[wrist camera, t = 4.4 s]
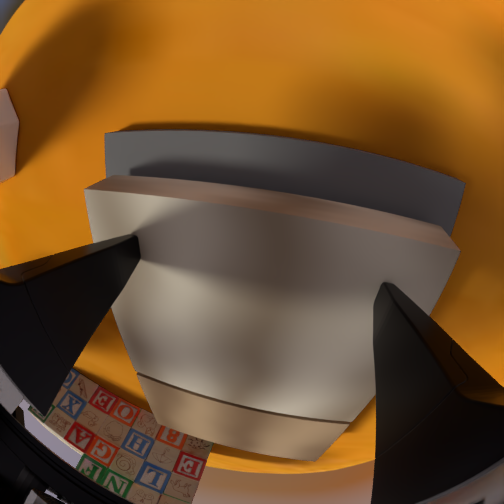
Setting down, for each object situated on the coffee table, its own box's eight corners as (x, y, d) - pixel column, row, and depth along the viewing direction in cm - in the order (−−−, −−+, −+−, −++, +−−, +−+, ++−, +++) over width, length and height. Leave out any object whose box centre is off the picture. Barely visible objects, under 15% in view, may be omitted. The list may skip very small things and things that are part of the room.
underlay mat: (163, 403, 23) (159, 410, 22) (117, 131, 11) (104, 133, 11) (324, 440, 20) (323, 449, 20) (455, 178, 9) (465, 183, 8)
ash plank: (148, 349, 17) (135, 370, 15) (113, 174, 11) (83, 189, 9) (352, 395, 15) (351, 421, 13) (440, 226, 9) (460, 251, 7)
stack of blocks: (75, 383, 29) (33, 441, 19) (63, 360, 26) (14, 424, 16) (209, 451, 28) (180, 526, 17) (216, 438, 25) (182, 528, 14)
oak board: (166, 406, 21) (157, 423, 19) (149, 354, 17) (136, 374, 16) (317, 442, 19) (315, 461, 17) (349, 399, 15) (349, 424, 13)
